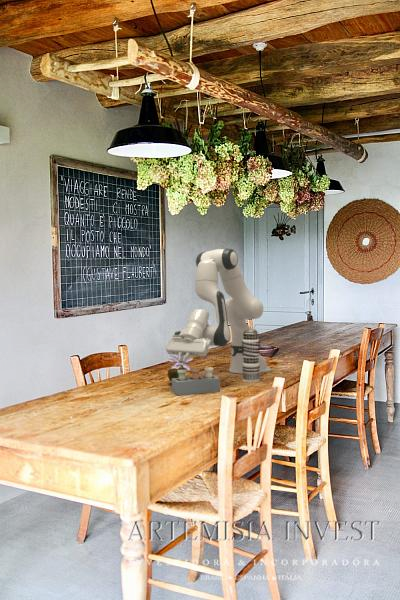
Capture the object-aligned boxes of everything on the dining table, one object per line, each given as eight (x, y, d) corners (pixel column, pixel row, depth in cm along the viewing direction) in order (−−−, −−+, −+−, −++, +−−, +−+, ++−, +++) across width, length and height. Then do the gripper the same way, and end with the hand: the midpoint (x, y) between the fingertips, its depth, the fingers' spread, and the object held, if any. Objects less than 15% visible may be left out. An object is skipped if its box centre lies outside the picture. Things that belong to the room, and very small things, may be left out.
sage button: (184, 384, 280) (184, 369, 279) (187, 386, 276) (187, 370, 276) (176, 385, 278) (176, 369, 278) (179, 386, 275) (179, 371, 274)
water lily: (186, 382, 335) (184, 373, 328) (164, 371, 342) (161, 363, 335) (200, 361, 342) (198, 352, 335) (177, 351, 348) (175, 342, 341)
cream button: (211, 381, 285) (211, 366, 284) (214, 383, 281) (214, 368, 280) (203, 382, 283) (203, 367, 283) (206, 384, 279) (206, 369, 279)
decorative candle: (259, 382, 298) (259, 331, 297) (240, 381, 300) (240, 330, 298) (261, 378, 307) (261, 328, 306) (243, 378, 309) (242, 328, 307)
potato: (191, 382, 302) (191, 365, 301) (176, 386, 291) (176, 370, 290) (177, 380, 306) (177, 364, 305) (162, 385, 295) (161, 368, 295)
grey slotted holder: (212, 387, 288) (212, 374, 287) (219, 391, 279) (219, 378, 279) (171, 391, 281) (171, 378, 280) (178, 395, 272) (178, 382, 272)
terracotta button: (198, 383, 282) (198, 368, 282) (201, 384, 279) (201, 369, 278) (190, 383, 281) (189, 368, 280) (193, 385, 277) (192, 370, 277)
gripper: (213, 342, 282) (204, 367, 274) (174, 340, 291) (164, 364, 283) (209, 334, 278) (200, 358, 270) (170, 332, 287) (159, 356, 279)
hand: (181, 361), depth 277 cm, fingers closed
